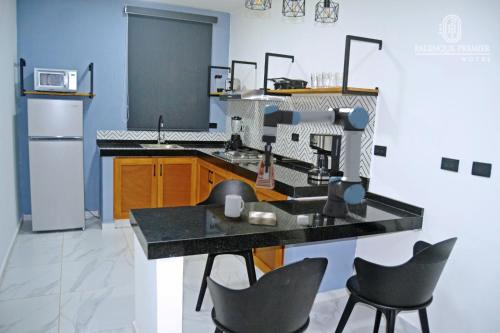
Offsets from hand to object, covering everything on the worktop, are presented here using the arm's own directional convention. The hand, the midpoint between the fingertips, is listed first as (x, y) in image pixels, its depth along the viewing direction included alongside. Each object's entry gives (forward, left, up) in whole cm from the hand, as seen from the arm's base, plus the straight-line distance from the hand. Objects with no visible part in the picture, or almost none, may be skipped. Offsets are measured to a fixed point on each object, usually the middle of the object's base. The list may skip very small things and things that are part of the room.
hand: (265, 177), depth 218 cm
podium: (0, 0, -24) cm, 24 cm away
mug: (+15, -8, -24) cm, 29 cm away
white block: (-22, -1, -24) cm, 32 cm away
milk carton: (0, 0, -5) cm, 5 cm away
